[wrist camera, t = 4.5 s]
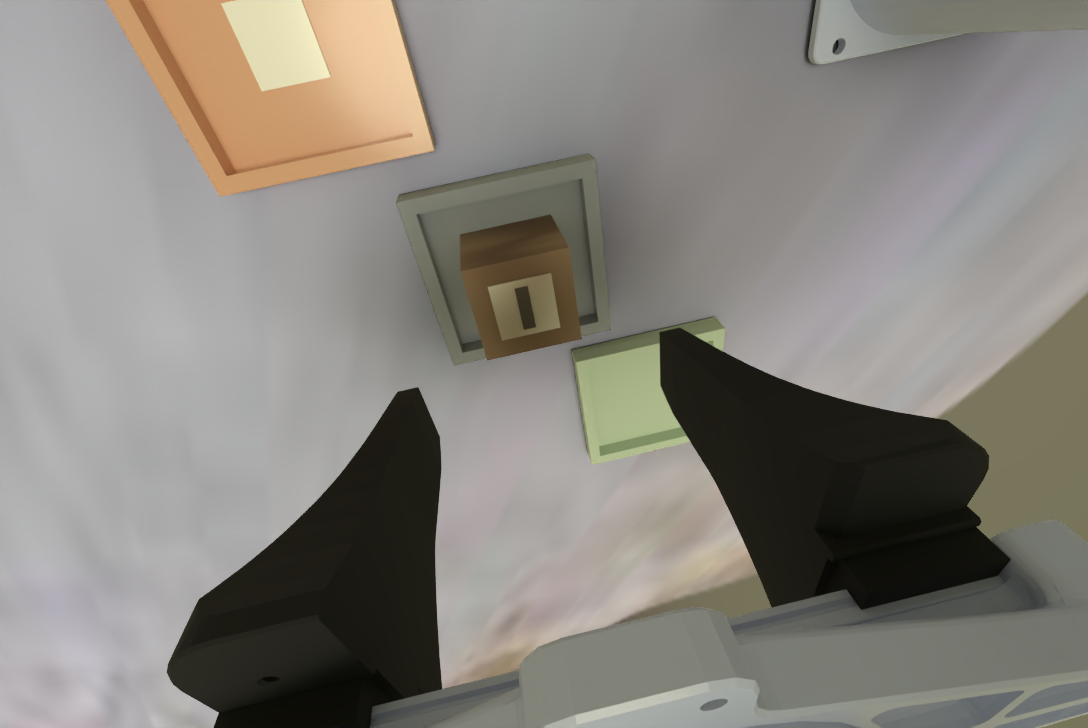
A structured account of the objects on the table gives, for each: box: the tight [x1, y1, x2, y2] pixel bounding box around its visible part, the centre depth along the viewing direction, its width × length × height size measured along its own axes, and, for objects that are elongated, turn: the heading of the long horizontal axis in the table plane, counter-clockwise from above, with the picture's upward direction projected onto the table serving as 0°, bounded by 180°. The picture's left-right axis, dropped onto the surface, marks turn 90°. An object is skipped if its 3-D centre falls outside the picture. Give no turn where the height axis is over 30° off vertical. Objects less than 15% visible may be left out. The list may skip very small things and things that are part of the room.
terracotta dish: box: [106, 0, 436, 197], centre depth 15 cm, size 8×8×1 cm
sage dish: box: [571, 317, 725, 465], centre depth 26 cm, size 8×8×1 cm
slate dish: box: [396, 154, 611, 365], centre depth 20 cm, size 8×8×1 cm
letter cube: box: [460, 214, 582, 360], centre depth 19 cm, size 4×4×4 cm
